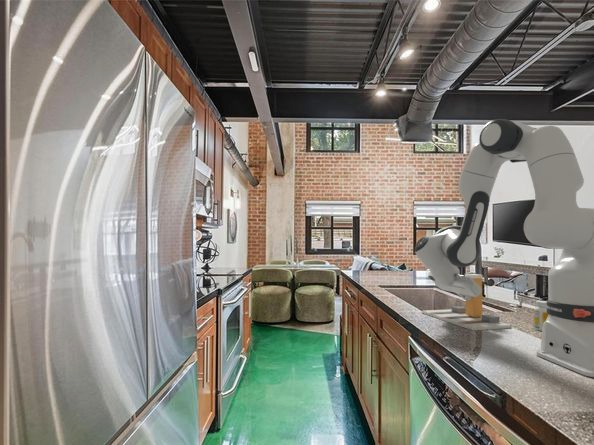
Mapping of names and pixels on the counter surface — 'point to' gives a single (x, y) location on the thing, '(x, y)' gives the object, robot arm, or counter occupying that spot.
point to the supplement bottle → (540, 315)
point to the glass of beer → (475, 299)
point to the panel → (467, 319)
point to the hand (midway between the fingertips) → (468, 298)
